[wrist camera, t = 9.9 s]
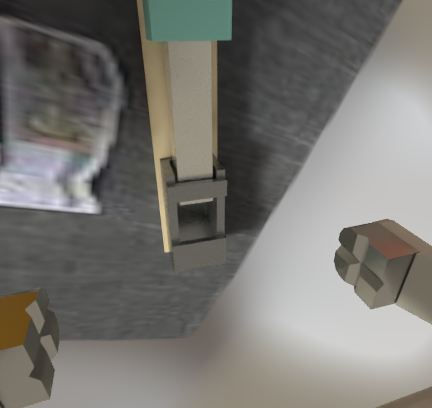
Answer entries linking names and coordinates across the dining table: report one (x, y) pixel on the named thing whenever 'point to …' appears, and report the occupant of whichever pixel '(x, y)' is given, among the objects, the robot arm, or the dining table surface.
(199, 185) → the sleeve
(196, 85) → the slip tube
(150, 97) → the board
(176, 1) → the teal cube
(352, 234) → the robot arm
